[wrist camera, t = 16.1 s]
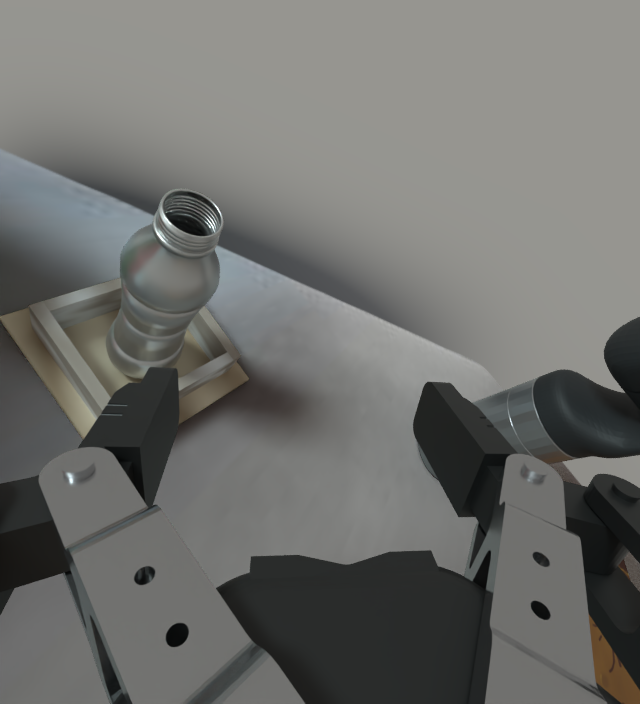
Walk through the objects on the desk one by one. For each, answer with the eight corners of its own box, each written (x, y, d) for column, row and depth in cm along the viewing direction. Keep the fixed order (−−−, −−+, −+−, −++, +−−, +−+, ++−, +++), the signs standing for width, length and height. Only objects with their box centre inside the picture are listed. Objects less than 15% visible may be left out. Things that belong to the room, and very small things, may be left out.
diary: (506, 527, 55) (544, 524, 51) (578, 539, 63) (616, 537, 58) (548, 745, 43) (602, 766, 39) (631, 727, 51) (683, 742, 46)
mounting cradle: (165, 269, 43) (174, 243, 39) (246, 381, 42) (263, 365, 38) (0, 321, 32) (-9, 291, 29) (105, 471, 32) (109, 460, 28)
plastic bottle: (190, 352, 39) (266, 224, 24) (145, 399, 35) (204, 280, 20) (138, 313, 38) (184, 153, 23) (85, 357, 34) (100, 197, 19)
